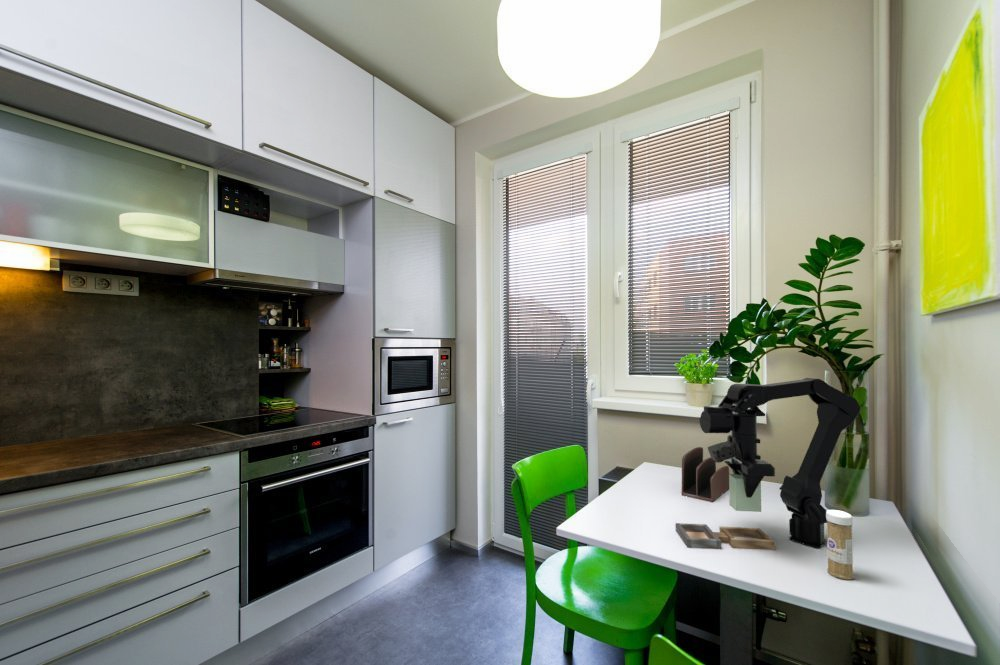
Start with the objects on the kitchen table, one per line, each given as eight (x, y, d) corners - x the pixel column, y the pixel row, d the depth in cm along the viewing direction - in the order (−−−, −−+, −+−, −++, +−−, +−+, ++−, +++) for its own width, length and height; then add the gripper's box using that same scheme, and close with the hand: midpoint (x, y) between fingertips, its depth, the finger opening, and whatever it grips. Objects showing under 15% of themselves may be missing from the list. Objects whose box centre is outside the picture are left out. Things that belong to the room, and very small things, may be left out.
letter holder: (681, 496, 145) (680, 453, 146) (701, 482, 160) (700, 444, 160) (712, 503, 138) (712, 458, 139) (730, 488, 153) (729, 448, 154)
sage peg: (753, 506, 112) (753, 475, 113) (761, 511, 108) (760, 479, 109) (729, 505, 113) (729, 474, 113) (736, 510, 109) (735, 478, 109)
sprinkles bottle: (822, 572, 95) (821, 510, 96) (835, 568, 97) (834, 507, 98) (846, 582, 91) (844, 518, 92) (859, 578, 93) (857, 514, 93)
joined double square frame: (757, 534, 115) (757, 526, 115) (777, 551, 105) (777, 543, 105) (675, 530, 117) (675, 523, 117) (687, 547, 107) (687, 539, 107)
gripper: (698, 425, 122) (699, 482, 121) (725, 439, 103) (726, 506, 102) (740, 426, 120) (741, 483, 120) (775, 441, 102) (776, 508, 101)
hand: (745, 494), depth 111 cm, fingers closed on sage peg, 4 cm apart
